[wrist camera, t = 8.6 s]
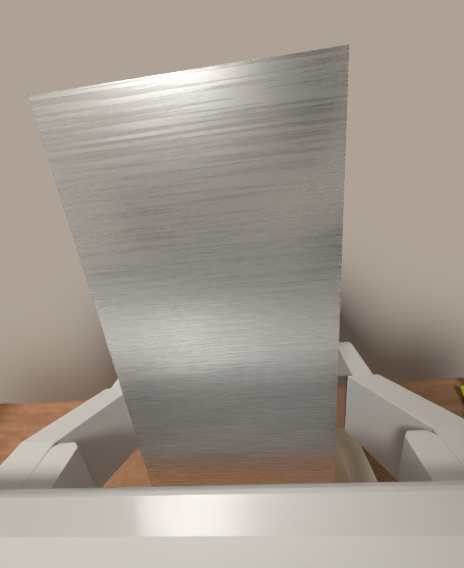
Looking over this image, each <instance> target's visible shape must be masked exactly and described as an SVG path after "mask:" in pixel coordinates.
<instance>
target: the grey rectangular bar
mask: <svg viewBox="0 0 464 568" xmlns="http://www.w3.org/2000/svg"><path fill="white" fill-rule="evenodd" d="M348 62H349V45H343V46H337V47H331V48H325V49H318V50H312V51H306V52H299V53H294V54H287V55H281V56H275V57H268V58H262V59H256V60H249V61H243V62H237V63H230V64H224V65H218V66H211V67H205V68H199V69H192V70H186V71H180V72H173V73H167V74H161V75H154V76H148V77H143V78H136V79H129V80H123V81H117V82H111V83H104V84H98V85H91V86H85V87H79V88H73V89H66V90H60V91H54V92H48V93H41V94H35V95H29V99H30V102H31V105H32V108H33V111H34V115H35V118H36V121H37V124H38V127H39V130H40V133H41V136H42V140H43V143H44V146H45V149H46V153H47V155H48V159H49V162H50V165H51V168H52V172H53V175H54V178H55V181H56V184H57V187H58V191H59V194H60V197H61V200H62V203H63V206H64V210H65V213H66V216H67V219H68V222H69V225H70V228H71V231H72V235H73V238H74V241H75V244H76V247H77V251H78V253H79V257H80V260H81V263H82V266H83V270H84V273H85V276H86V279H87V282H88V285H89V288H90V291H91V295H92V298H93V301H94V304H95V307H96V310H97V314H98V317H99V320H100V323H101V326H102V330H103V332H104V336H105V339H106V342H107V345H108V348H109V352H110V355H111V358H112V361H113V364H114V367H115V371H116V374H117V377H118V380H119V383H120V386H121V390H122V393H123V396H124V399H125V402H126V405H127V409H128V412H129V415H130V418H131V421H132V424H133V428H134V431H135V434H136V437H137V440H138V443H139V446H140V450H141V453H142V456H143V459H144V462H145V465H146V469H147V472H148V475H149V478H150V481H151V484H152V487H156V486H205V485H255V484H306V483H334V465H335V437H336V408H337V379H338V350H339V320H340V293H341V292H340V291H341V264H342V262H341V261H342V234H343V207H344V178H345V177H344V175H345V149H346V121H347V92H348Z"/></svg>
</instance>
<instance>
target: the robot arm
mask: <svg viewBox="0 0 464 568" xmlns="http://www.w3.org/2000/svg"><path fill="white" fill-rule="evenodd" d="M336 428H345V431H346V432H347V433H348V434H350V435H351V436H352V437H353V438H354V439H355V440H356V441H357V442H358V443H359V444H360V445H361V446H362V447H363V448H364V449H365V450H366V451H367V452H368V453H369V454H370V455H371V456H372V457H373V458H375V459H376V460H377V461H378V462H379V463H380V464H381V465H382V466H383V467H384V468H385V469H386V470H387V471H388V472H389V473H390V474H391V475H392V476H393V477H394V478H395V479H396V480H397V482H357V483H306V484H255V485H205V486H156V487H106V488H101V487H102V486H103V485H104V484H105V483H106V482H107V481H108V479H109V478H110V477H111V476H112V475H113V474H114V473H115V472H116V471H117V470H118V469H119V467H120V466H121V465H122V464H123V463H124V462H125V461H126V460H127V459H128V458H129V457H130V455H131V454H132V453H133V452H134V451H135V450H136V449H137V448H138V447H139V443H138V440H137V437H136V434H135V431H134V428H133V424H132V421H131V418H130V415H129V412H128V409H127V405H126V402H125V399H124V396H123V393H122V390H121V386H120V383H119V380H118V379H117V380H116V382H115V383H114V385H113V386H112V388H111V389H105V390H104V391H102V392H101V393H99V394H97V395H96V396H94V397H93V398H91V399H89V400H88V401H86V402H85V403H83V404H82V405H80V406H78V407H77V408H75V409H74V410H72V411H70V412H69V413H67V414H66V415H64V416H63V417H61V418H59V419H58V420H56V421H55V422H53V423H51V424H50V425H48V426H47V427H45V428H44V429H42V430H40V431H39V432H37V433H36V434H34V435H33V436H31V437H29V438H28V439H26V440H25V441H23V442H21V443H20V444H19V446H18V447H17V448H16V449H15V450H14V451H13V452H12V453H11V454H10V456H9V457H8V458H7V459H6V460H5V461H4V462H3V463H2V465H1V466H0V568H464V419H463V418H461V417H459V416H457V415H455V414H453V413H451V412H450V411H448V410H446V409H444V408H442V407H440V406H438V405H436V404H434V403H432V402H430V401H428V400H427V399H425V398H423V397H421V396H419V395H417V394H415V393H413V392H411V391H409V390H407V389H405V388H403V387H402V386H400V385H398V384H396V383H394V382H392V381H390V380H388V379H386V378H384V377H382V376H380V375H373V374H372V372H371V371H370V369H369V368H368V367H367V365H366V364H365V362H364V361H363V360H362V358H361V357H360V355H359V354H358V352H357V351H356V350H355V348H354V347H353V345H352V344H351V343H350V342H341V343H339V350H338V379H337V408H336Z"/></svg>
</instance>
